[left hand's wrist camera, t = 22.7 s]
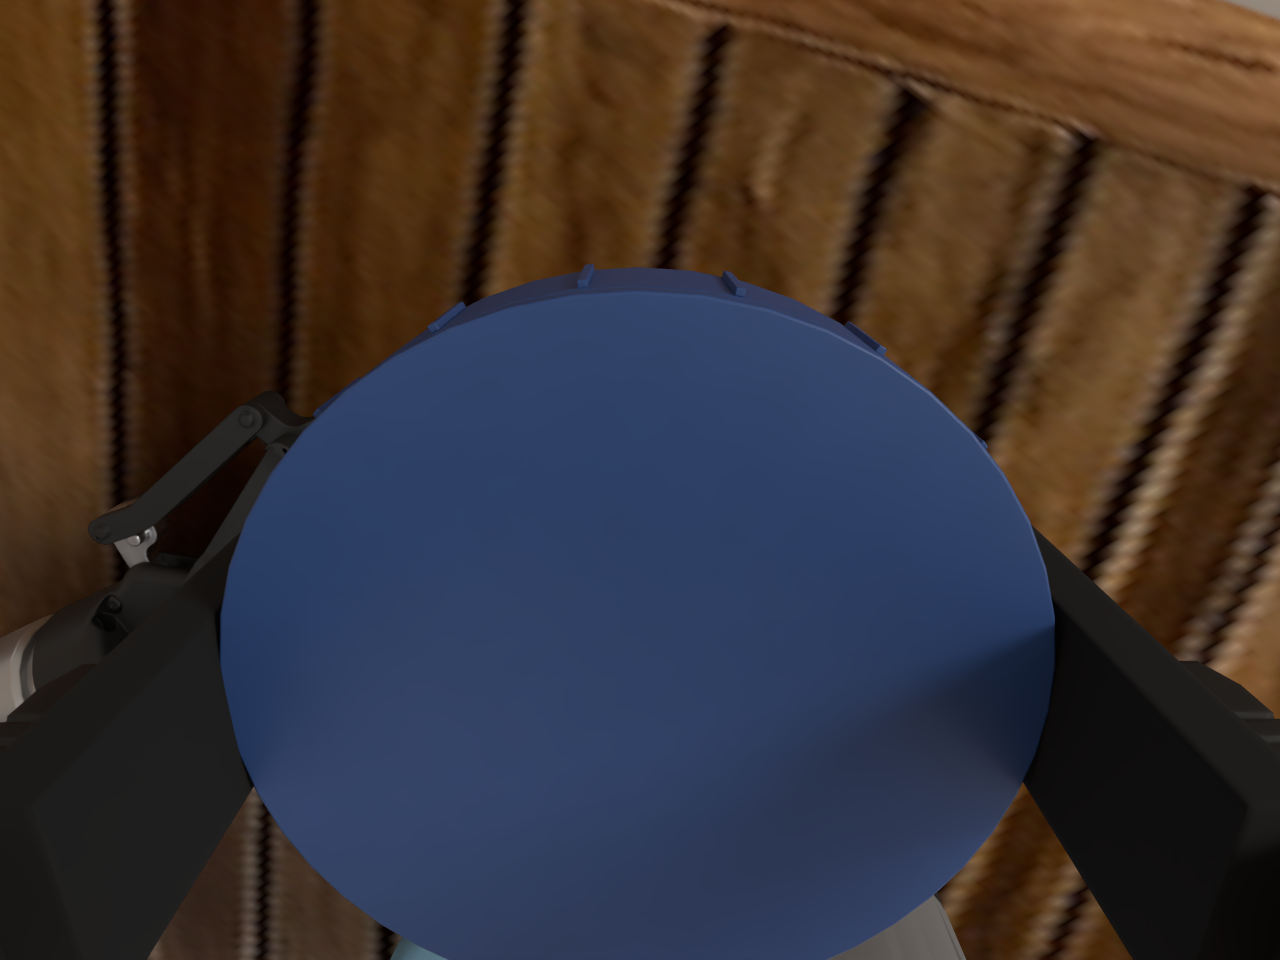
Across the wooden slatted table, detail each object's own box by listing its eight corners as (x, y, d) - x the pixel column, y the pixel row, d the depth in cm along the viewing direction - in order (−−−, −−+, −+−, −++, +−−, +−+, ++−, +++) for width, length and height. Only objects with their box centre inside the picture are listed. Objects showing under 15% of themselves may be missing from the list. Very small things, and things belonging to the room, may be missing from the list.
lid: (289, 854, 14) (231, 966, 12) (270, 206, 10) (182, 217, 8) (891, 914, 14) (931, 1032, 12) (1089, 320, 11) (1191, 355, 9)
